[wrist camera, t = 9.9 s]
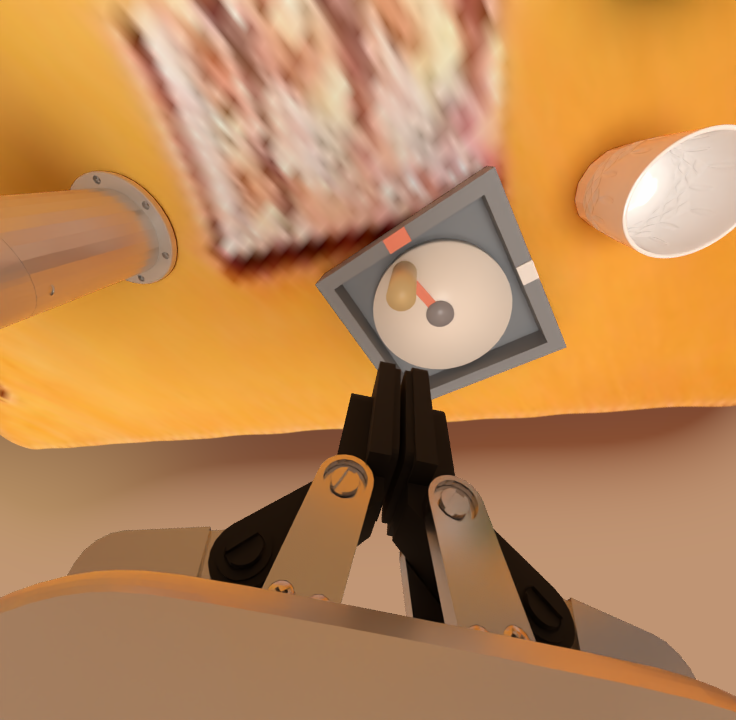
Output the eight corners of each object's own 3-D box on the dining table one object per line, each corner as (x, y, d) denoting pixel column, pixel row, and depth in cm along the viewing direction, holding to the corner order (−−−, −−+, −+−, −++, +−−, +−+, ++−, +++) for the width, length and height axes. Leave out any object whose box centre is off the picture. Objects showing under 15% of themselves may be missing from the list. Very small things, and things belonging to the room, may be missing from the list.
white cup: (619, 244, 32) (690, 274, 23) (549, 214, 31) (596, 234, 23) (688, 157, 27) (806, 154, 19) (609, 120, 27) (694, 102, 18)
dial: (534, 312, 35) (565, 353, 28) (428, 379, 42) (430, 427, 34) (453, 205, 31) (464, 219, 23) (349, 300, 38) (331, 335, 30)
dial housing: (407, 391, 45) (406, 410, 42) (324, 273, 38) (314, 285, 34) (553, 330, 37) (567, 348, 34) (486, 166, 30) (495, 166, 26)
